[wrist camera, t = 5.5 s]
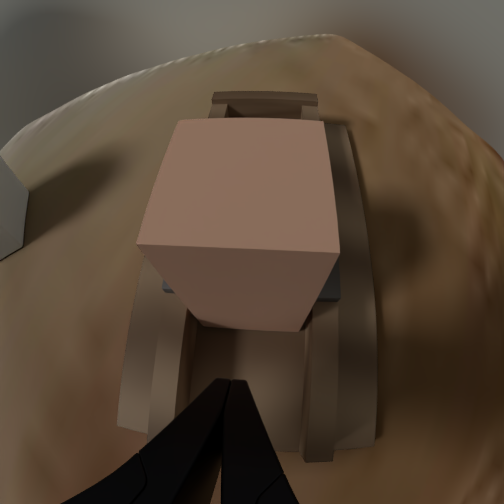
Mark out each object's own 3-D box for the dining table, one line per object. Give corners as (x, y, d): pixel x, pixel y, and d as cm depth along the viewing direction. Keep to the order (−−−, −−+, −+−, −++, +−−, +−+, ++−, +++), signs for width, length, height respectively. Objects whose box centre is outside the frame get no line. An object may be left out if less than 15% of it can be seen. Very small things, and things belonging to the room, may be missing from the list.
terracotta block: (298, 331, 15) (340, 252, 7) (203, 326, 15) (135, 244, 7) (299, 247, 17) (323, 121, 9) (214, 243, 17) (178, 120, 9)
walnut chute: (369, 443, 12) (397, 455, 9) (123, 424, 13) (87, 429, 10) (343, 132, 23) (351, 97, 20) (188, 127, 24) (179, 93, 21)
